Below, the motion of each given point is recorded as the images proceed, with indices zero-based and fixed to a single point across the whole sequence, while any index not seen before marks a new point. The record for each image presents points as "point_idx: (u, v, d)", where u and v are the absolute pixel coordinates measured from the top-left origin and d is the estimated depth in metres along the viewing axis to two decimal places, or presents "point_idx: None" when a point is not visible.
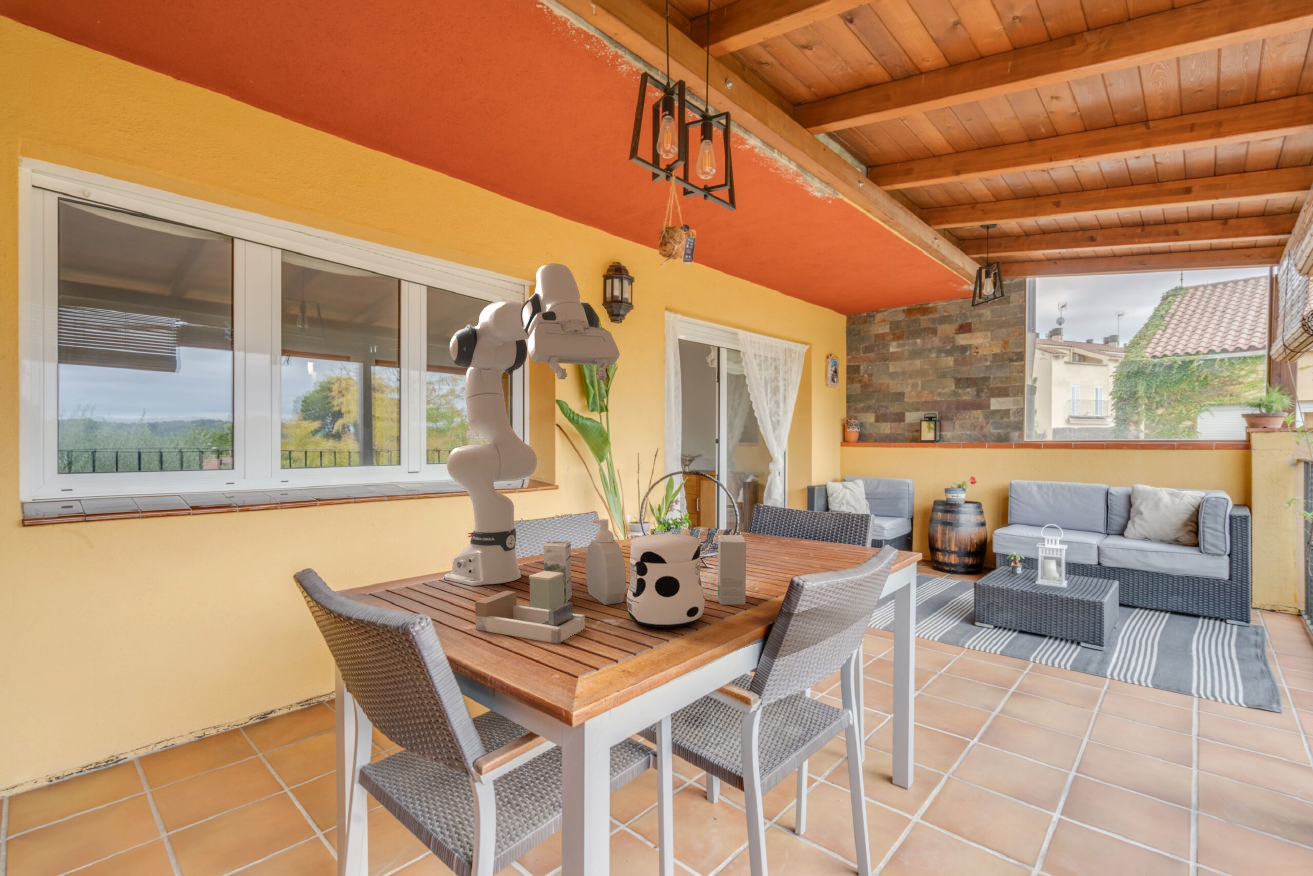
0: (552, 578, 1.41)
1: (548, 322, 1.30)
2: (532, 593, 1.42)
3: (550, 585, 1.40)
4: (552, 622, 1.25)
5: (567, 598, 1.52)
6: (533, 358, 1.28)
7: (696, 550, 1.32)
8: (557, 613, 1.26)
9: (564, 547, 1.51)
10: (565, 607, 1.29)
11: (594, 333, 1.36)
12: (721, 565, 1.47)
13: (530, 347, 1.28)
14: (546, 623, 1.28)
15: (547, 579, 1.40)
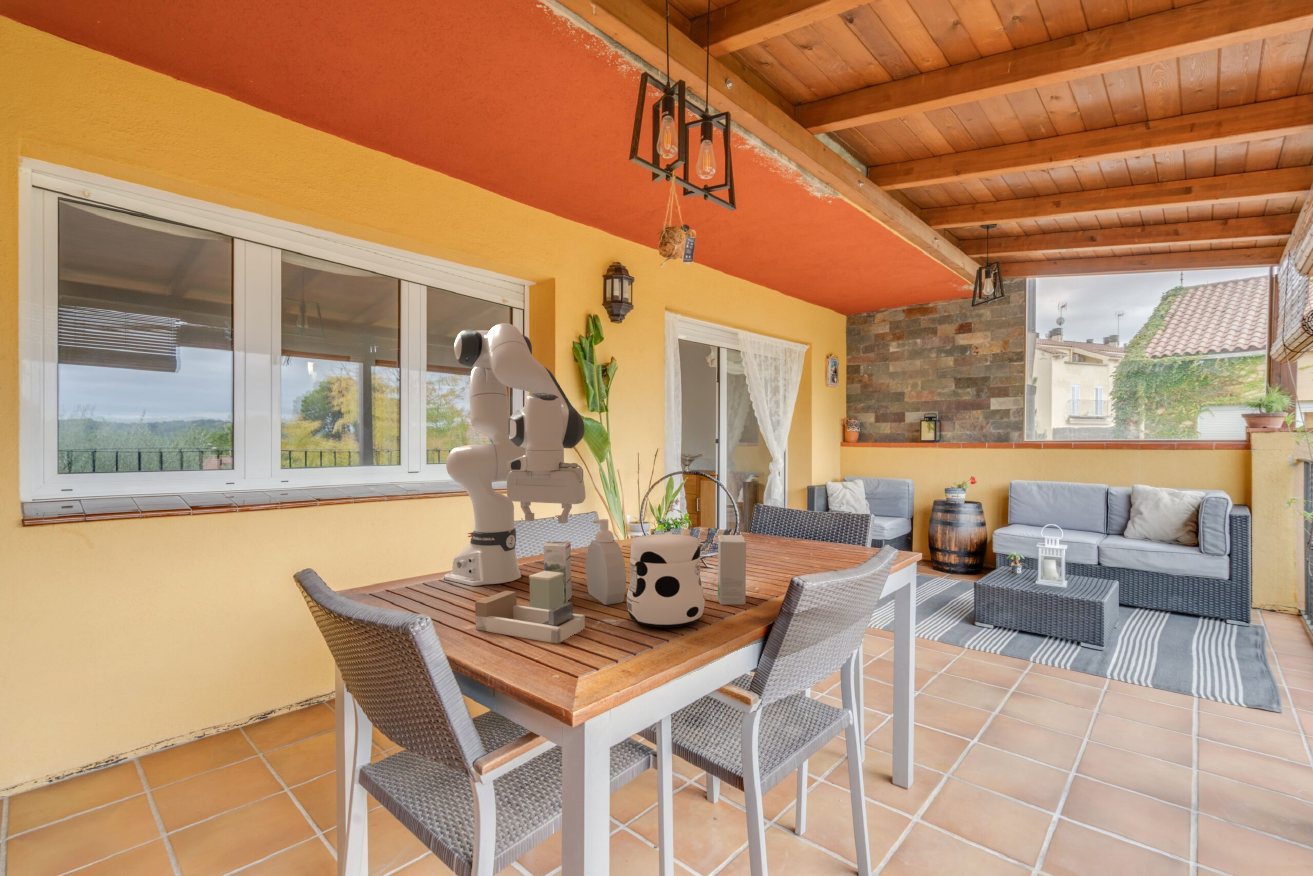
0: (552, 578, 1.41)
1: (516, 471, 1.43)
2: (532, 593, 1.42)
3: (550, 585, 1.40)
4: (552, 622, 1.25)
5: (567, 598, 1.52)
6: None
7: (696, 550, 1.32)
8: (557, 613, 1.26)
9: (564, 547, 1.51)
10: (565, 607, 1.29)
11: (558, 477, 1.39)
12: (721, 565, 1.47)
13: None
14: (546, 623, 1.28)
15: (547, 579, 1.40)
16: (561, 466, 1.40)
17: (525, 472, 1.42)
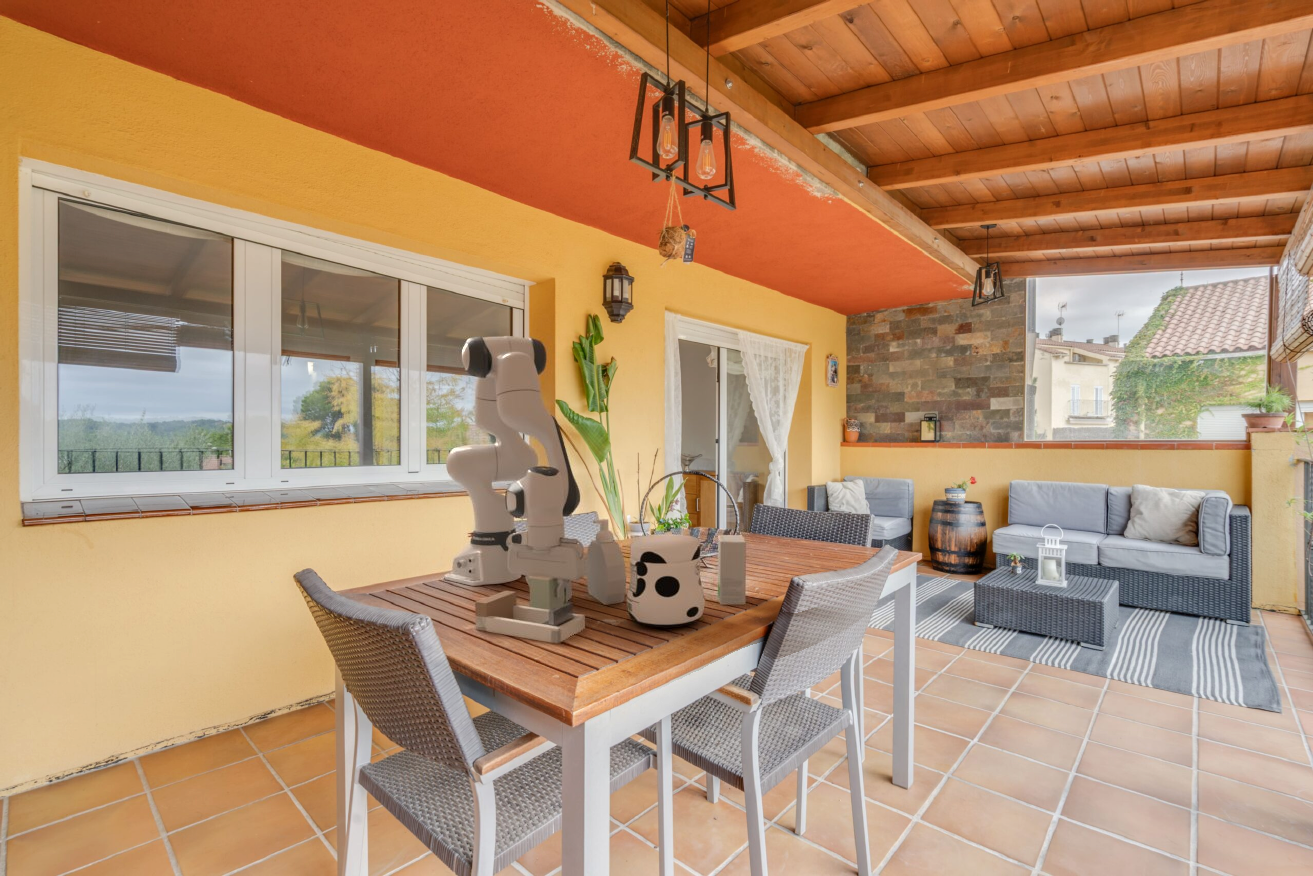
0: (552, 578, 1.41)
1: (516, 544, 1.43)
2: (532, 593, 1.42)
3: (550, 585, 1.40)
4: (552, 622, 1.25)
5: (567, 598, 1.52)
6: None
7: (696, 550, 1.32)
8: (557, 613, 1.26)
9: None
10: (565, 607, 1.29)
11: (558, 553, 1.39)
12: (721, 565, 1.47)
13: None
14: (546, 623, 1.28)
15: (547, 579, 1.40)
16: (561, 541, 1.40)
17: (526, 546, 1.42)
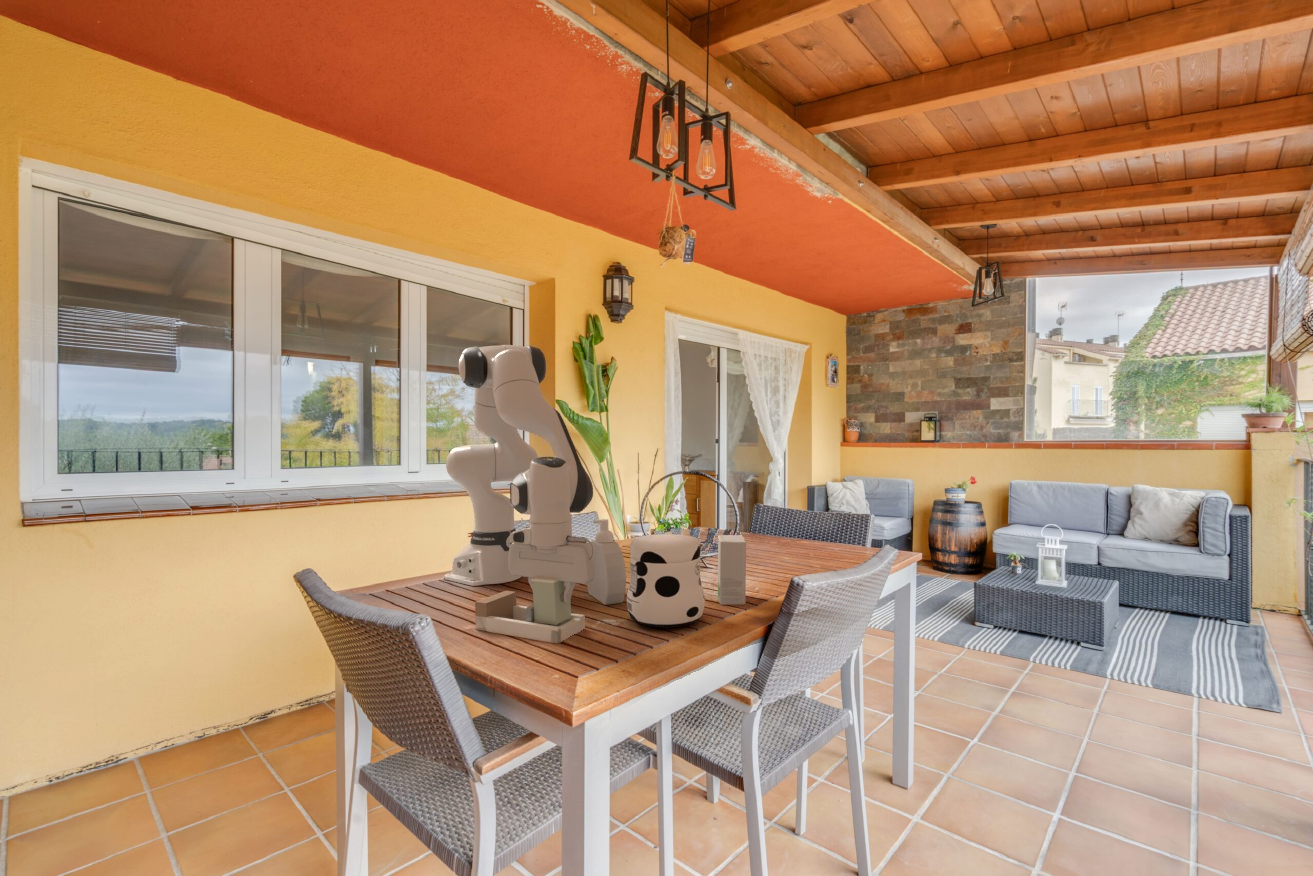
0: (557, 580, 1.27)
1: (519, 543, 1.29)
2: (536, 598, 1.28)
3: (555, 588, 1.26)
4: (530, 619, 1.27)
5: None
6: None
7: (696, 550, 1.32)
8: None
9: None
10: None
11: (565, 553, 1.25)
12: (721, 565, 1.47)
13: None
14: (524, 620, 1.31)
15: (552, 582, 1.26)
16: (569, 540, 1.26)
17: (529, 545, 1.28)
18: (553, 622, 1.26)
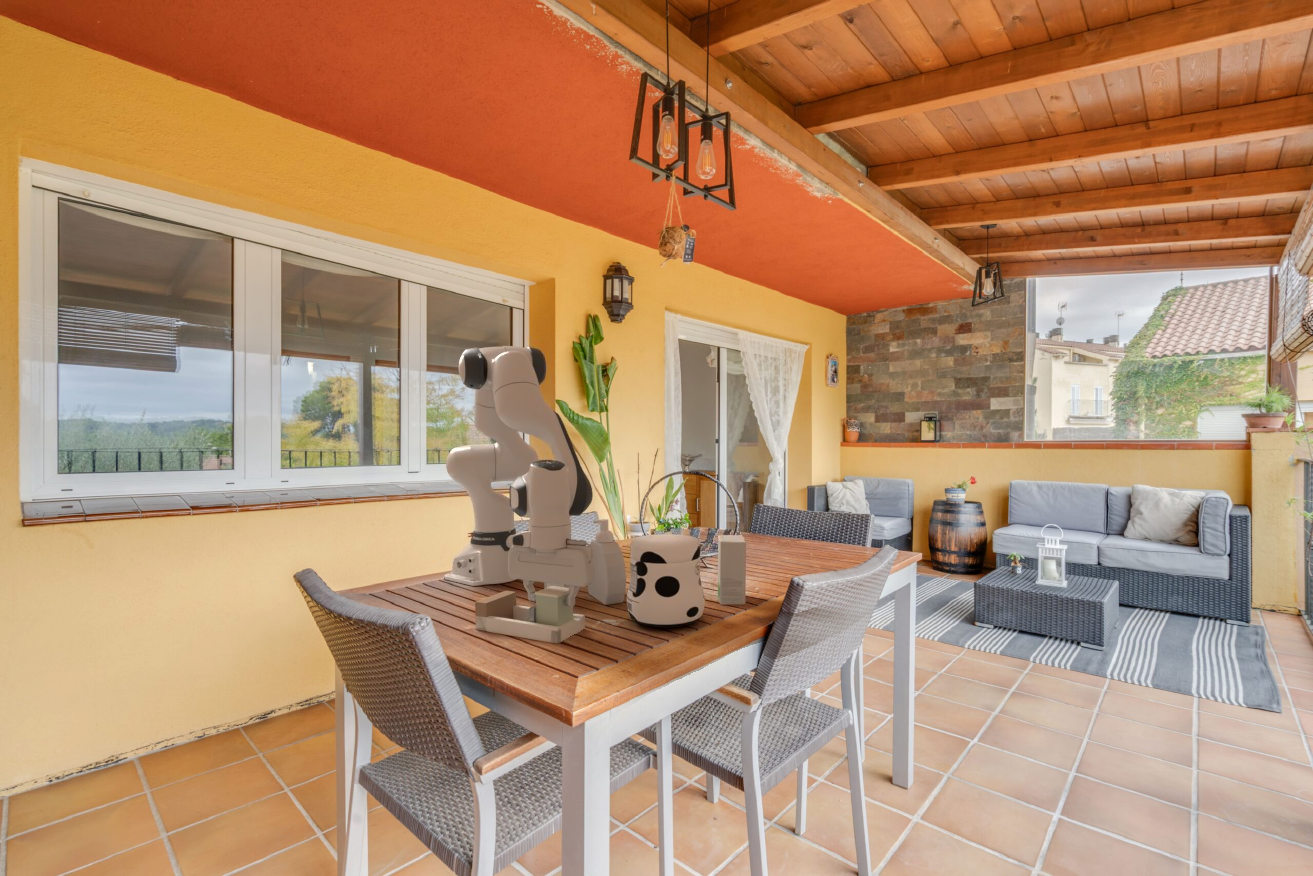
0: (561, 595, 1.26)
1: (518, 546, 1.29)
2: (539, 611, 1.27)
3: (559, 603, 1.26)
4: (532, 619, 1.27)
5: None
6: None
7: (696, 550, 1.32)
8: None
9: None
10: None
11: (564, 556, 1.25)
12: (721, 565, 1.47)
13: None
14: (527, 620, 1.30)
15: (555, 596, 1.25)
16: (568, 543, 1.26)
17: (528, 548, 1.28)
18: None
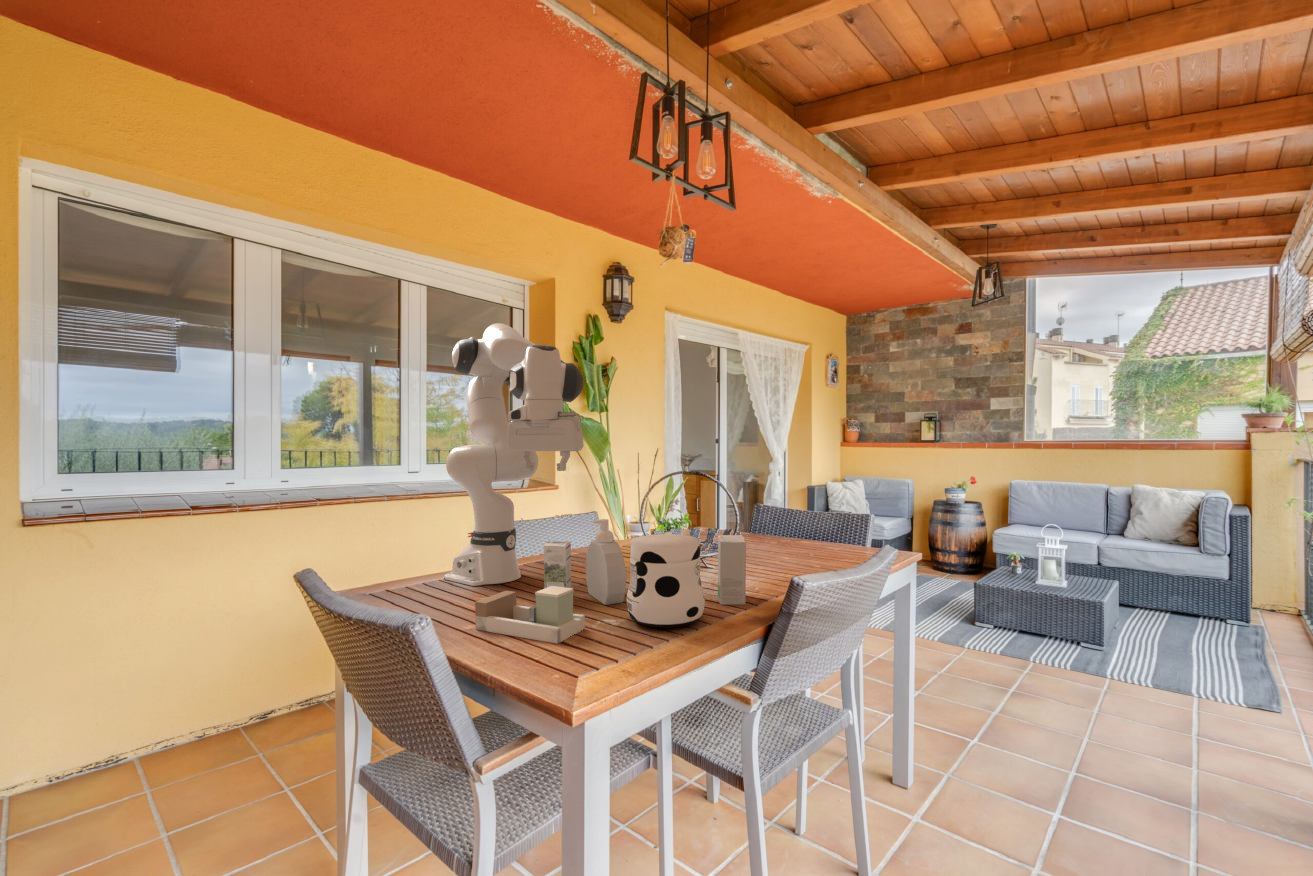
0: (561, 595, 1.26)
1: (516, 420, 1.46)
2: (539, 611, 1.27)
3: (559, 603, 1.26)
4: (532, 619, 1.27)
5: None
6: None
7: (696, 550, 1.32)
8: None
9: (564, 547, 1.51)
10: None
11: (556, 425, 1.42)
12: (721, 565, 1.47)
13: None
14: (527, 620, 1.30)
15: (555, 596, 1.25)
16: (560, 415, 1.44)
17: (525, 421, 1.45)
18: None
